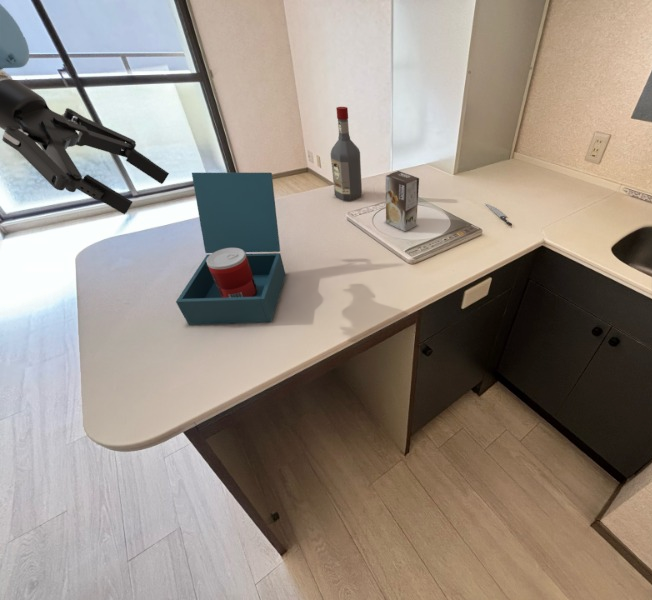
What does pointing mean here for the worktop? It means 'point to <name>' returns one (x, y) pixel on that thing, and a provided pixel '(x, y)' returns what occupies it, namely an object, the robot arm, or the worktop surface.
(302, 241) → the worktop surface
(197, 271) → the cool box
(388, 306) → the worktop surface
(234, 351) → the worktop surface
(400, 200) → the coffee box
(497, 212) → the chef's knife
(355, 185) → the liquor
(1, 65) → the robot arm
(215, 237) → the cooler lid
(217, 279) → the canned food
